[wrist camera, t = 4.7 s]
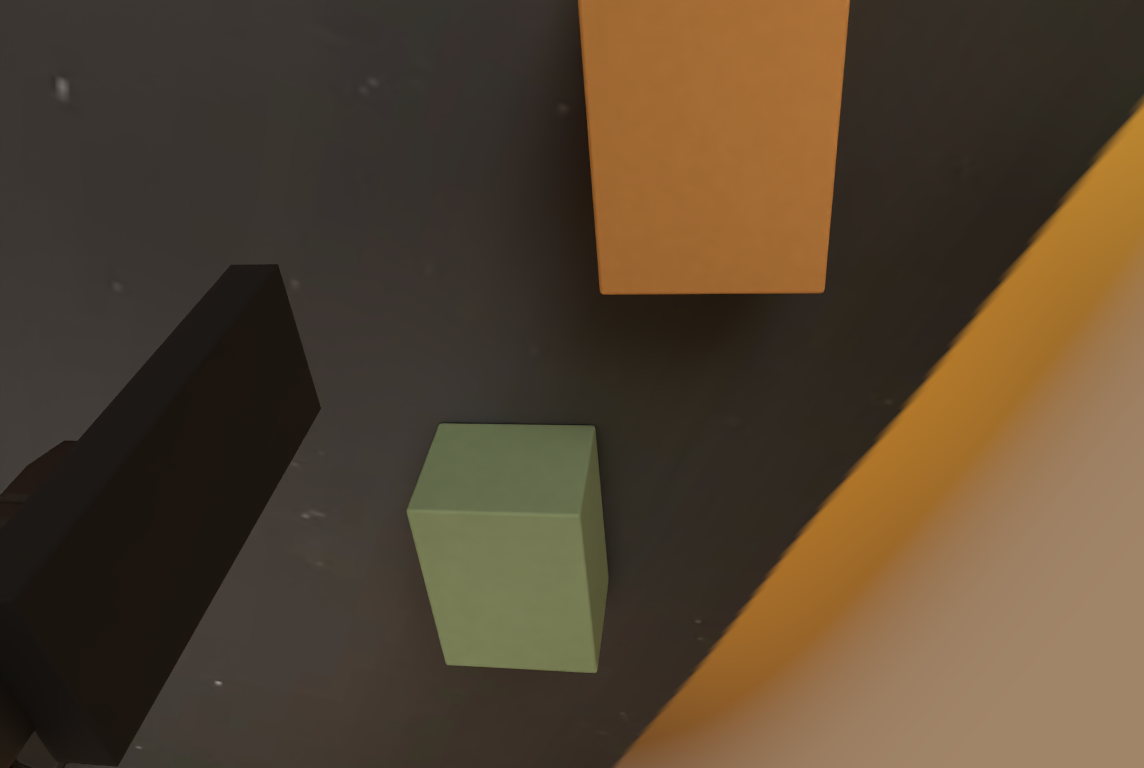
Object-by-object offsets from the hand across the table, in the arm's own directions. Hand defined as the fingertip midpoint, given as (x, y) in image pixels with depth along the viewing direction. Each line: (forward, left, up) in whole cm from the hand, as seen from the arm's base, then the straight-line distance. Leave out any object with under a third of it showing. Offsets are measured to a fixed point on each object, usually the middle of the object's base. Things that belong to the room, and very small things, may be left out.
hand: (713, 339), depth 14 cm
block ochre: (0, 0, -11) cm, 11 cm away
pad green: (-6, -14, -11) cm, 18 cm away
